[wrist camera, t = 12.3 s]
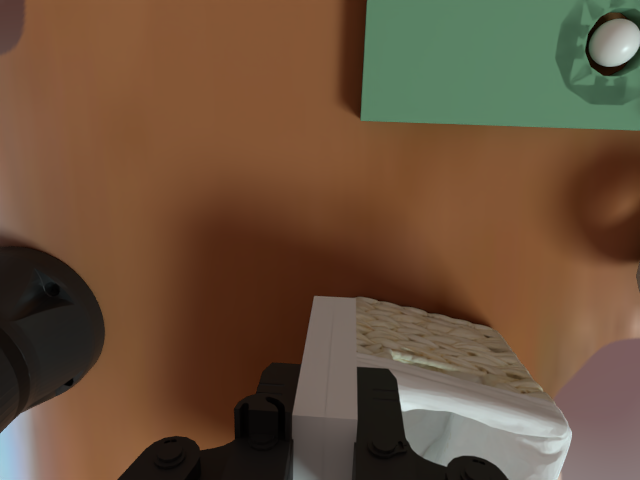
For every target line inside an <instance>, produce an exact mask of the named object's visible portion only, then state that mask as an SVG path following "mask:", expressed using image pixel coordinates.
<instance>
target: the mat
mask: <svg viewBox="0 0 640 480" xmlns="http://www.w3.org/2000/svg"><path fill="white" fill-rule="evenodd" d="M608 12H620V13H621V14H623V15H624V16H625V17H627V18H628V19H629V20H631V21H632V22H633V23H634V24H635V25H636V26H637V27H638V29H639V31H640V0H367V4H366V23H365V41H364V60H363V78H362V96H361V115H360V120H361V121H384V122H413V123H441V124H469V125H498V126H526V127H555V128H583V129H611V130H640V46H639V48H638V50H637V52H636V53H635V55H634V56H633V57H632V58H631V59H630V60H629V62H628V63H627V64H626V65H625V67H624V68H623V69H622V70H620V71H618V72H616V73H614V74H612V75H610V76H603V75H601V74H600V73H598V72H597V71H596V70H594V69H593V68H591V67H590V64H589V61H588V59H587V56H586V53H585V47H586V42H587V37H588V32H589V31H590V30H591V28H592V27H593V26H594V24H595V23H596V22H597V20H598V19H599V18H600V17H601V16H603V15H605V14H607V13H608Z"/></svg>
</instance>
